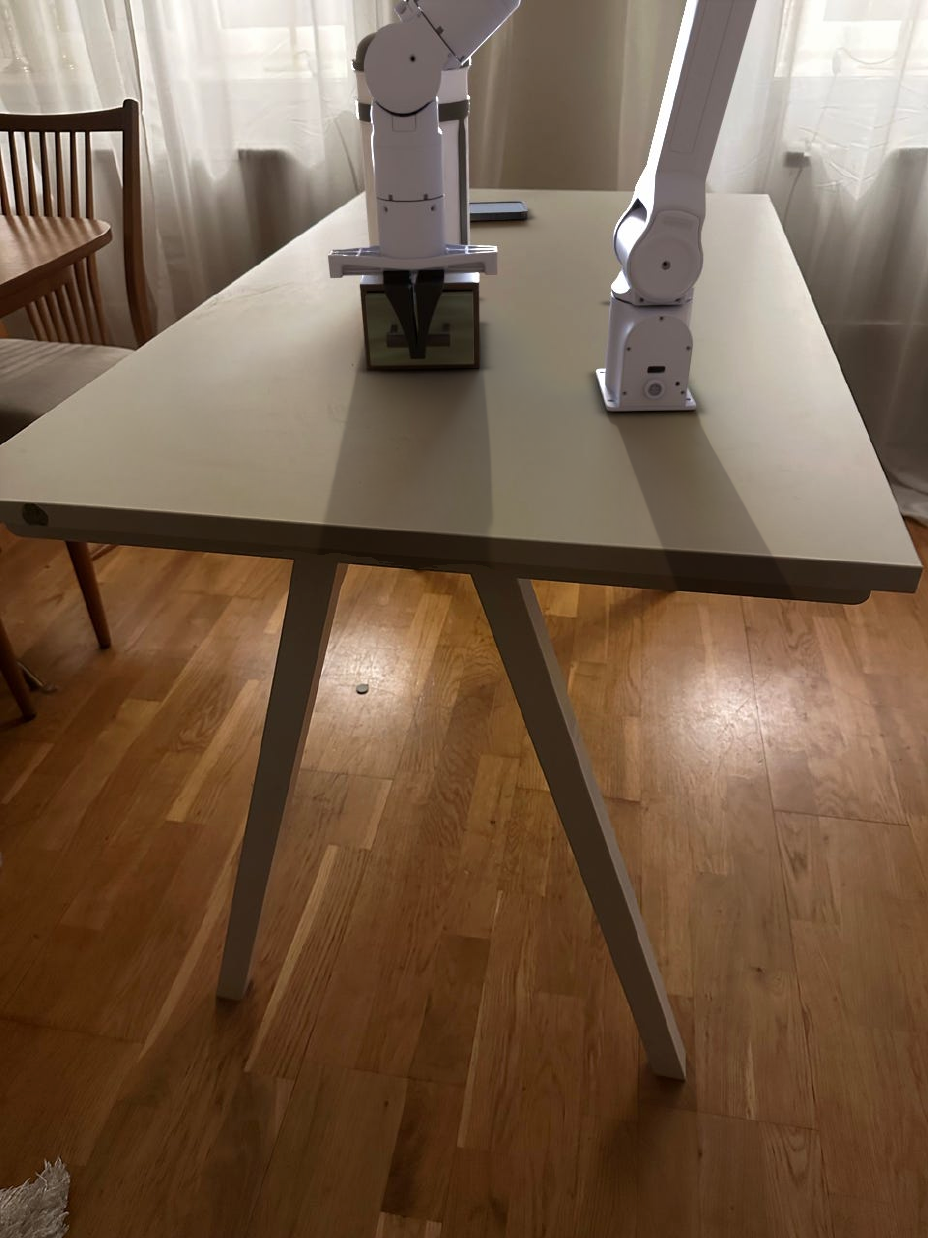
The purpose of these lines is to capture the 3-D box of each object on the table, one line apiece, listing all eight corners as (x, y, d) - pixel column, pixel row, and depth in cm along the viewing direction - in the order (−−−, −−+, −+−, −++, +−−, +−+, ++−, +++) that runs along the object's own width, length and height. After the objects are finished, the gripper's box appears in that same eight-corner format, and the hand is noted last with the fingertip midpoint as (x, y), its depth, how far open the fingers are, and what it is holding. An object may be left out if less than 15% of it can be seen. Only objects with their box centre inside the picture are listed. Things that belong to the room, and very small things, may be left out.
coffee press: (510, 285, 114) (512, -5, 96) (435, 319, 103) (423, 1, 86) (400, 266, 122) (384, -4, 104) (321, 297, 111) (288, 2, 94)
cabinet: (480, 368, 91) (479, 281, 86) (366, 369, 91) (359, 284, 86) (479, 324, 102) (478, 246, 97) (378, 326, 102) (372, 248, 97)
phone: (528, 211, 142) (432, 213, 142) (528, 218, 143) (433, 221, 142) (523, 200, 148) (432, 203, 148) (523, 207, 149) (432, 210, 149)
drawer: (474, 380, 86) (472, 309, 82) (366, 382, 86) (360, 311, 82) (473, 323, 99) (472, 260, 96) (381, 325, 100) (376, 261, 96)
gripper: (495, 183, 79) (495, 339, 87) (329, 187, 79) (344, 342, 87) (498, 200, 73) (497, 365, 81) (318, 204, 73) (335, 368, 81)
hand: (418, 355), depth 83 cm, fingers closed, pressing on drawer
